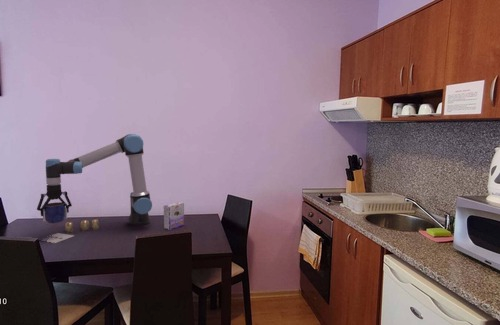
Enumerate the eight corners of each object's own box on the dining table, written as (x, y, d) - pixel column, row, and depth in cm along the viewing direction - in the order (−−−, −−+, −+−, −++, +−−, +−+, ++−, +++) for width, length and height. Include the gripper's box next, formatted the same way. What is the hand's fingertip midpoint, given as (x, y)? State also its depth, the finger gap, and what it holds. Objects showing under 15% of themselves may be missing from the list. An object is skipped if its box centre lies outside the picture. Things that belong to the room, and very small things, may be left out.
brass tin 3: (99, 228, 221) (99, 219, 220) (95, 229, 217) (95, 221, 216) (95, 227, 222) (94, 219, 221) (90, 229, 218) (90, 220, 218)
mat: (74, 236, 203) (74, 235, 203) (54, 243, 190) (54, 242, 190) (57, 233, 208) (57, 233, 208) (37, 240, 195) (37, 239, 194)
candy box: (178, 224, 232) (178, 201, 231) (184, 225, 229) (184, 202, 227) (163, 228, 221) (163, 205, 220) (169, 230, 218) (169, 206, 216)
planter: (68, 219, 204) (67, 202, 203) (61, 224, 193) (60, 206, 192) (49, 219, 202) (48, 202, 201) (41, 224, 192) (40, 206, 191)
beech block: (89, 226, 224) (89, 220, 224) (86, 228, 220) (86, 222, 220) (83, 226, 224) (83, 220, 224) (80, 228, 220) (80, 222, 220)
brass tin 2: (89, 228, 218) (89, 220, 218) (84, 230, 215) (84, 221, 214) (84, 228, 220) (84, 219, 219) (80, 230, 216) (79, 221, 215)
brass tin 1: (74, 231, 214) (73, 222, 213) (69, 232, 210) (68, 223, 209) (69, 230, 215) (69, 221, 214) (64, 232, 211) (63, 223, 211)
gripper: (73, 181, 206) (74, 215, 208) (29, 185, 191) (31, 221, 193) (76, 183, 201) (77, 217, 203) (31, 187, 185) (33, 224, 187)
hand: (55, 219), depth 198 cm, fingers closed on planter, 11 cm apart
